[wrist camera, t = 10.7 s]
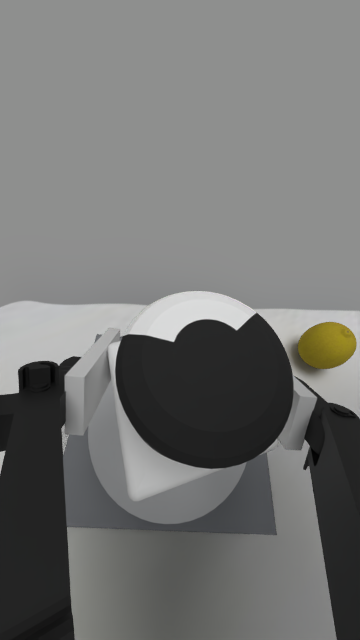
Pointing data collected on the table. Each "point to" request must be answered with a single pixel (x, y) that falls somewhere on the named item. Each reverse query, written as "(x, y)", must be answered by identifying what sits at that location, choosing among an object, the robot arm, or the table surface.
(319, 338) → the lemon
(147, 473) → the medicine bottle
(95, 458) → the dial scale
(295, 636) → the table surface
